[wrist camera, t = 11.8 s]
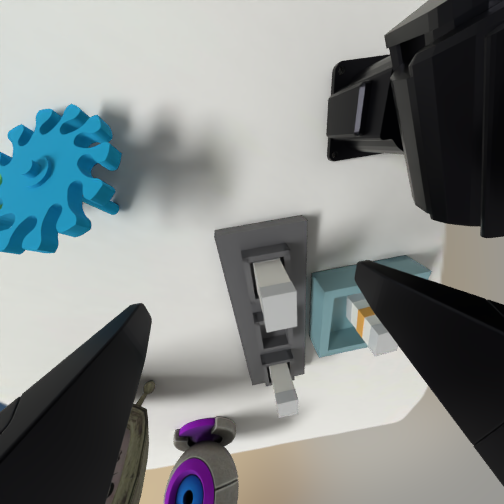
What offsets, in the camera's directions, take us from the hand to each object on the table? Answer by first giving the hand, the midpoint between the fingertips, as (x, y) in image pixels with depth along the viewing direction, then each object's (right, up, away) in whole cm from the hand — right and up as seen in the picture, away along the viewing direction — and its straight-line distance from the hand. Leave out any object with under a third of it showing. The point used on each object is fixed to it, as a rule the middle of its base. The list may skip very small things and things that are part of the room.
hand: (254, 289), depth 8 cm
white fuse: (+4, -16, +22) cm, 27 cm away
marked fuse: (+14, -6, +18) cm, 24 cm away
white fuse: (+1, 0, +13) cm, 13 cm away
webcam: (-10, -38, +34) cm, 52 cm away
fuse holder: (+2, -7, +19) cm, 20 cm away
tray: (+14, -5, +19) cm, 24 cm away
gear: (-14, +8, +7) cm, 18 cm away
